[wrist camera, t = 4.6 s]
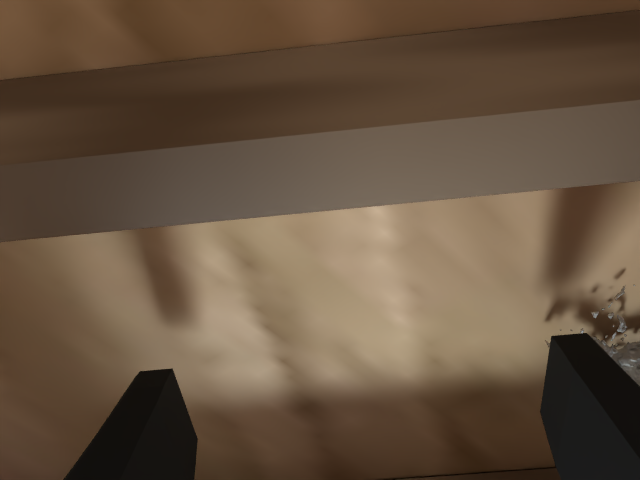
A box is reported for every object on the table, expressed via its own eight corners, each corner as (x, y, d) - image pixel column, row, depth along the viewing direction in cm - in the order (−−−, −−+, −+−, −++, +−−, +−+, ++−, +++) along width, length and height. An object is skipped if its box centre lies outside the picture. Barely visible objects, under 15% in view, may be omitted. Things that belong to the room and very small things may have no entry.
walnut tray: (-117, 538, 17) (-190, 664, 14) (-501, 135, 10) (-776, 245, 7) (685, 482, 16) (755, 607, 13) (884, -17, 9) (1111, 51, 6)
